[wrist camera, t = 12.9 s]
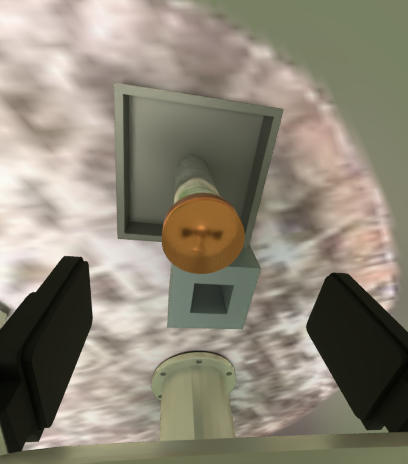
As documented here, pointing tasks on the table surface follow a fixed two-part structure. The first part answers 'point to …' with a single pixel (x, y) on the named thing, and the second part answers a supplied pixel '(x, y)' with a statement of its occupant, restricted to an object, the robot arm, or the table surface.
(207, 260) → the pin
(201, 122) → the parts tray
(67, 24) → the table surface
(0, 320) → the pulley system
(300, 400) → the table surface
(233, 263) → the block
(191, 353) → the robot arm
